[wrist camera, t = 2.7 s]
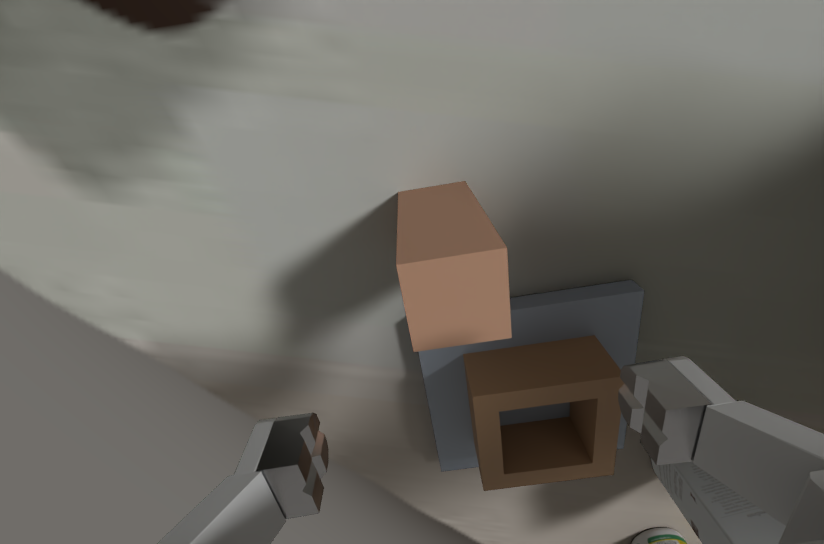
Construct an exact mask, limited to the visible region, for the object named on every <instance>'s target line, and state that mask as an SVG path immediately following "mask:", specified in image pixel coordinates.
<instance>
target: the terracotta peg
mask: <svg viewBox="0 0 824 544" xmlns="http://www.w3.org/2000/svg"><path fill="white" fill-rule="evenodd" d="M396 267H397V272H398V277H399V282H400V287H401V292H402V297H403V302H404V307H405V312H406V317H407V322H408V327H409V332H410V336H411V341H412V346H413V351H414V352H418V351H425V350H432V349H439V348H446V347H453V346H460V345H467V344H473V343H480V342H487V341H494V340H501V339H508V338H512V333H511V314H510V295H509V276H508V257H507V247H506V245H505V244H504V242H503V241H502V239H501V237H500V236H499V234H498V233H497V231H496V229H495V228H494V226H493V225H492V223H491V221H490V220H489V218H488V217H487V215H486V214H485V212H484V210H483V209H482V207H481V206H480V204H479V202H478V201H477V199H476V198H475V196H474V195H473V193H472V191H471V190H470V188H469V187H468V185H467V183H466V182H465V181H462V182H456V183H450V184H444V185H438V186H432V187H426V188H420V189H414V190H408V191H402V192H398V218H397V254H396Z"/></svg>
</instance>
